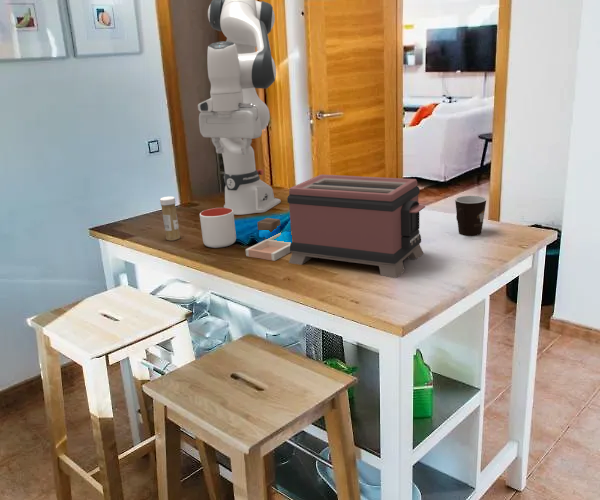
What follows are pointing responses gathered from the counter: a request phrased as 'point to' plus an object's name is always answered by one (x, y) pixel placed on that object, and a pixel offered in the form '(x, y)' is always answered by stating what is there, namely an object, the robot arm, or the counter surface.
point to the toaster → (356, 221)
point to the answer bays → (269, 249)
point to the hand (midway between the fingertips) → (232, 153)
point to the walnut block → (268, 224)
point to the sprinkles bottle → (170, 218)
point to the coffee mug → (470, 214)
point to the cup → (218, 227)
